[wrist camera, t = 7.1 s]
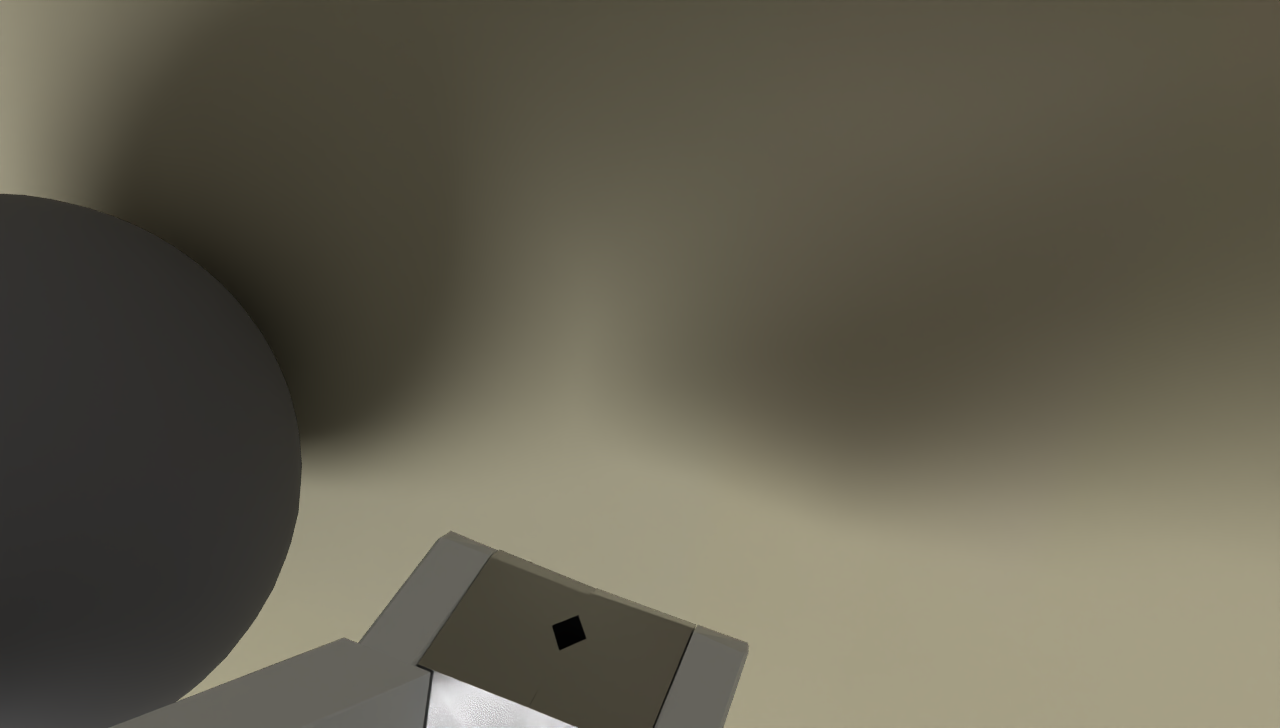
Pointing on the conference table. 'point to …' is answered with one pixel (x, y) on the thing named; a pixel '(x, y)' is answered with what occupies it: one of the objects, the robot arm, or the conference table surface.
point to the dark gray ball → (129, 469)
